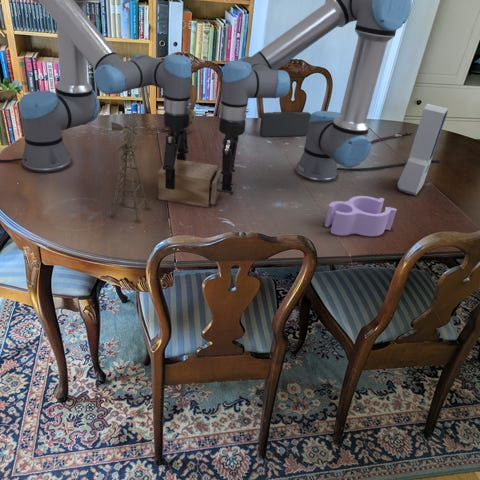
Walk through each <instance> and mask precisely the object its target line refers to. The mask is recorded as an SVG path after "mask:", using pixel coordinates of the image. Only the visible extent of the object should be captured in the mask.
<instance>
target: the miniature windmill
mask: <svg viewBox="0 0 480 480" xmlns="http://www.w3.org/2000/svg"><path fill="white" fill-rule="evenodd" d="M132 114H134V112H133V111H132V112H131V113H129V114H127V117H125V121H126V122H124V126H123V125H121V124H119V123H115V122H112V121H111V131H112V132H121V131H123V137H124V138H123V140H124V143H122V145H121V146H120V147H118V148H117V150H119V151H122V155H121V156H120V159H121V161H120V164H119V171H118V172H117V175H118V176H117V180H116V187H115V192H114V195H113V197H114V198H113V202H112V203H111V206H112V208H111V213H110V216H111V217H114V216H115V209H116V207H119V208H125V209H126V208H127V209H130V210H134V212H135V220H136V222H137V221H140V219H139V211H138V210H139V209H140V207H141V206H142V205H143V204H144V205H145V209H149V204H148V201H147V199H148V197H147V196H146V193H145V190H144V186H143V183H144V182H143V181H142V178H141V175H140V168H139V166H138V163H137V159H136V157H137V156H136V154H135V152H136V151H137V150H138V149H140V146H139V145H137V144H134V143H135V140H137V138H136V136H137V135H138V133H137V132H136V131H138V128H136V127H137V126H138V118H136V117H137V115H132ZM133 144H134V145H133ZM128 161H129V166H127V164H128ZM132 161H133V163H134V166H135V167H133V164H132ZM123 165H124V167H123ZM127 169H129V170H130V173H127ZM133 170H134V172H133ZM135 174H136V175H137V179H138V180H135V179H134V176H135ZM127 176H130V178H131V179H129V178H127ZM122 178H123V180H122V181H121V179H122ZM127 182H131V186H132V187H131V188H132V189H130V188H126V183H127ZM135 183H138V184H139V185H138V186H136V187H135ZM122 184H123V185H122ZM121 185H122V187H121ZM139 188H140V189H141V194H142V195H137V194H136V192H137V190H138V189H139ZM121 191H122V193H121V194H120V195H119V196H118V194H119V193H120V192H121ZM126 191H129V192H132V193H126ZM126 196H131V197H133V203H134V204H133V205H134V207H132V206H128V205H125V200H126V199H125V197H126ZM121 197H122V199H121ZM137 198H141V199H143V200H142V201H141V202H140V203H139V205H138V203H137V202H138V201H137ZM119 199H121V204H117V202H118V201H119Z"/></svg>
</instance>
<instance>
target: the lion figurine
mask: <svg viewBox="0 0 480 480" xmlns="http://www.w3.org/2000/svg"><path fill="white" fill-rule="evenodd" d="M189 114H190V124H189V126H192V125H193V123H194V122H196V118H197V114H196V111H195V110H193V109H190V112H189ZM189 126H188V127H187V128H186V130H187V134H189V132H190V131H189ZM168 130H170V128H168V127H166V126H165V125H164V124H163V128H161V132H162V131H168Z"/></svg>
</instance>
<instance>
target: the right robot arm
mask: <svg viewBox="0 0 480 480" xmlns="http://www.w3.org/2000/svg"><path fill="white" fill-rule="evenodd" d="M411 11H412V0H325V1H324V4H323V5H321V6H320V7H319V8H317V9H316V10H314V11H313V12H311V13H310V14H308V15H307V16H306V17H304V18H303V19H302V20H300V21H298V23H297V24H295V25H294V26H292V27H291V28H289V29H287V30H286V31H285V32H284V33H282V34H281V35H279V36H278V37H277V38H275V39H274V40H273V41H271V42H270V43H268V44H267V45H266V46H264V47H263V48H261V49H260V50H259V51H257V52H256V53H254V54H253V55H251V56H248V55H247V56H246V55H244V56H242V57H240V58H239V59H237V60H228V61H227V62H226V63H225V64H224V67H223V71H222V78H221V80H222V83H221V100H220V107H219V121H218V123H219V124H218V130H219V132H220V133H221V134H224V138H223V140H222V145H223V147H222V148H221V153H222V157H221V158H222V160H221V170H222V171H221V174H222V184H221V190H227V191H230V189H231V187H232V185H231V184H232V183H233V173H236V169H235V163H236V155H237V149H238V143H239V140H240V139H239V138H240V137H239V136H241V135H243V134H244V133H245V132H246V131H245V130H246V124H247V123H246V119H247V113H249V112H250V109H249V108H248V105H249V99H281V98H285V97H286V96H287V95H288V94H289V92H290V87H291V78H290V75H289V73H288V72H287V71H286V70H283V69H280V68H281V67H283V66H284V65H285V64H287V63H288V62H290V61H291V60H293V59H294V58H296V57H297V56H298V55H300V54H301V53H302V52H304V51H305V50H307V49H308V48H309V47H311V46H312V45H314V44H315V43H316V42H318V41H319V40H320V39H322V38H323V37H325V36H326V35H327V34H329V33H331V32H332V31H333V30H335V29H337V27H338V28H343V27H345V26H347V25H348V24H350V23H352V22H356V23H355V27H354V31H355V32H356V35H357V43H356V45H355V50H354V54H353V58H352V61H351V67H350V70H349V75H348V78H347V83H346V87H345V91H344V95H343V99H342V104H341V107H340V112H337V111H332V110H331V111H330V110H319V111H318V110H317V111H314V112H312V113H310V114H311V116H310V120H309V126H308V132H307V135H306V138H305V142H304V143H305V144H304V149H303V153H302V154H301V157H300V159H299V161H297V163H296V166H295V173H296V175H298V177H300V178H302V179H303V180H307V181H310V182H315V183H330V182H333V181H335V180H336V179H337V177H338V171H345V172H347V171H352V172H353V171H354V172H355V171H356V172H357V171H359V172H360V171H372V170H373V171H374V170H380V169H381V170H382V169H387V168H394V167H400V166H406V164H407V161H406V162H400V163H392V164H387V165H381V166H380V165H379V166H373V167H372V166H371V167H357V166H359V165H360V164H361V163H363V162H365V160H366V159H367V158H368V157H369V155H370V153H371V151H372V144H371V141H370V139H369V138H368V134H369V130H370V125H369V124H368V122H367V119H368V115H369V113H370V108H371V104H372V101H373V98H374V93H375V89H376V87H377V82H378V80H379V75H380V71H381V68H382V65H383V61H384V56H385V53H386V49H387V47H388V46H387V45H388V43H389V41H390V40H392V39H394V38H395V36H396V33H397V30H399V29H401V28H402V27H403V25H404V24H406V23H407V21H408V19H409V17H410V15H411ZM438 162H440V159H432V160H431V163H438ZM338 165H340V166H342V167H338Z"/></svg>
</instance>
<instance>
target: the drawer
mask: <svg viewBox="0 0 480 480" xmlns="http://www.w3.org/2000/svg"><path fill="white" fill-rule="evenodd" d="M221 171H222V169H218V170H217V174H216V176H215V178H214V180H213V177H212V179H211V181H210V193H209V196H210V194H211V202H210V205H215V204H216V202H217V200H218V198H219V196H220V194H221V193H225V194H229V196H233V195H234V194H235V191H236V189H237V186H238V183H237V182H236V181H234V182H232V184H231V189H230V191H227V190H222V180H223V174H221Z"/></svg>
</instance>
